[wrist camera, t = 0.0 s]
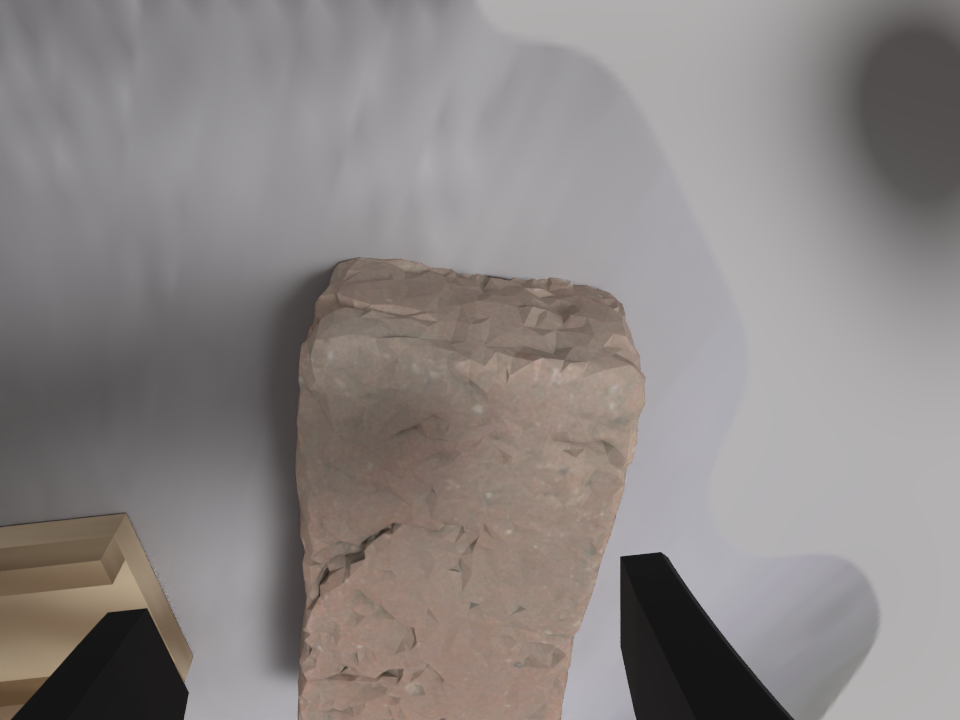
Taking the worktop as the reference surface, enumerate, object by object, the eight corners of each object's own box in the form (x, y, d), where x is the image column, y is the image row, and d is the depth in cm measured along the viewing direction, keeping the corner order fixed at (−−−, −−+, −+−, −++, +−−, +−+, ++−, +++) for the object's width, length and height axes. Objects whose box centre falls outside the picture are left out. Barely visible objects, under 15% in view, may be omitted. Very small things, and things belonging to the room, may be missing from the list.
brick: (318, 250, 19) (284, 335, 15) (626, 278, 20) (674, 366, 16) (317, 657, 27) (295, 783, 23) (534, 665, 28) (550, 788, 24)
